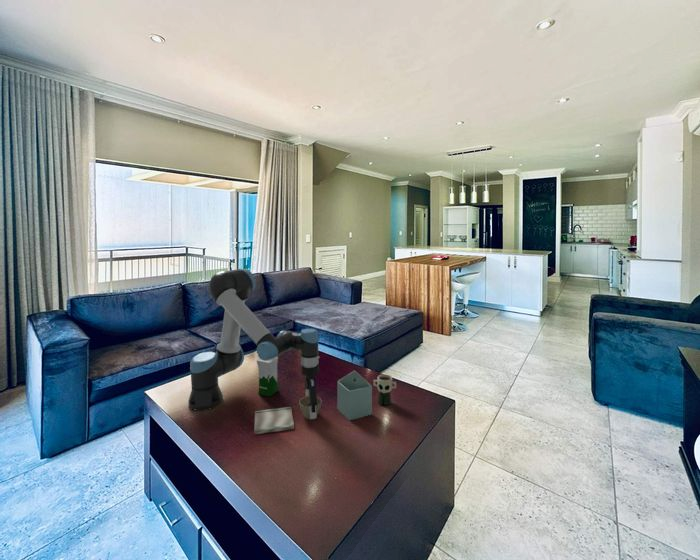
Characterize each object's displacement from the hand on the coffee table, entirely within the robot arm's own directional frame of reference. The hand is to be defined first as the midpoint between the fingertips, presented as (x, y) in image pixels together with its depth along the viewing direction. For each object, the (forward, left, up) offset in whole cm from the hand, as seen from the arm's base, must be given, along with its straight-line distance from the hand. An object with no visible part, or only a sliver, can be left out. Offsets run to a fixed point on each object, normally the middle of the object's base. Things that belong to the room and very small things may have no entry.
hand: (311, 410), depth 147 cm
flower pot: (0, 0, -3) cm, 3 cm away
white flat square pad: (-16, 0, -3) cm, 16 cm away
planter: (+18, -4, -3) cm, 18 cm away
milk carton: (-18, +28, -3) cm, 33 cm away
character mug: (+36, +3, -3) cm, 36 cm away
